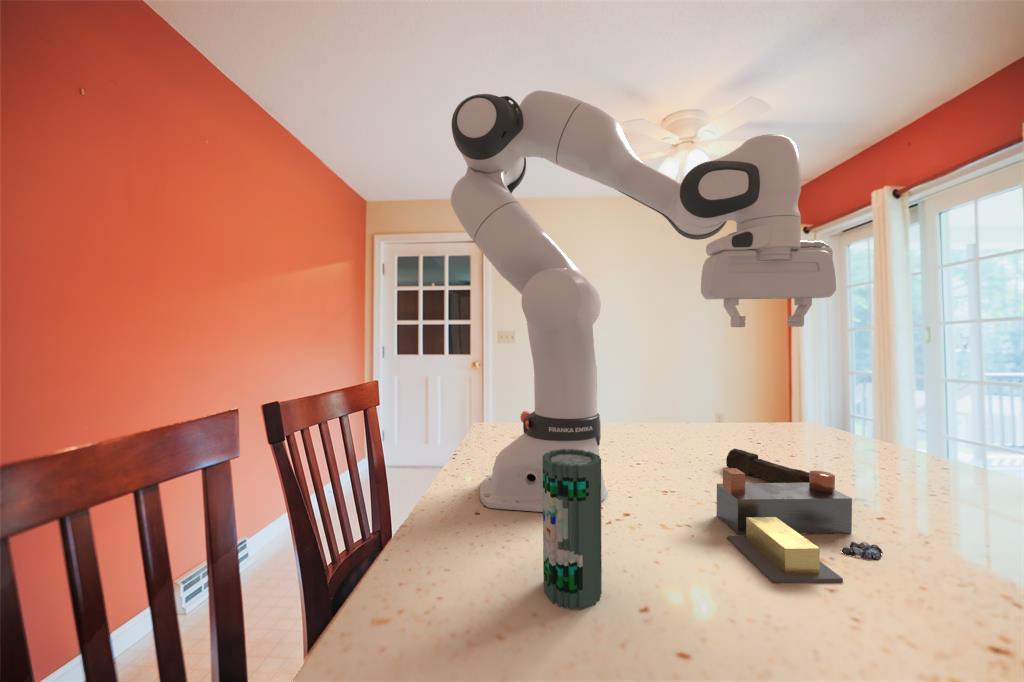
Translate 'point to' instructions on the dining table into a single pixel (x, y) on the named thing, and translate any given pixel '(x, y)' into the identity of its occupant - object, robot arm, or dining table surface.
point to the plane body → (785, 503)
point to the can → (572, 528)
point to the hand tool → (764, 468)
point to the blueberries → (863, 551)
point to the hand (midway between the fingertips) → (766, 327)
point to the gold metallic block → (783, 545)
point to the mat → (774, 572)
